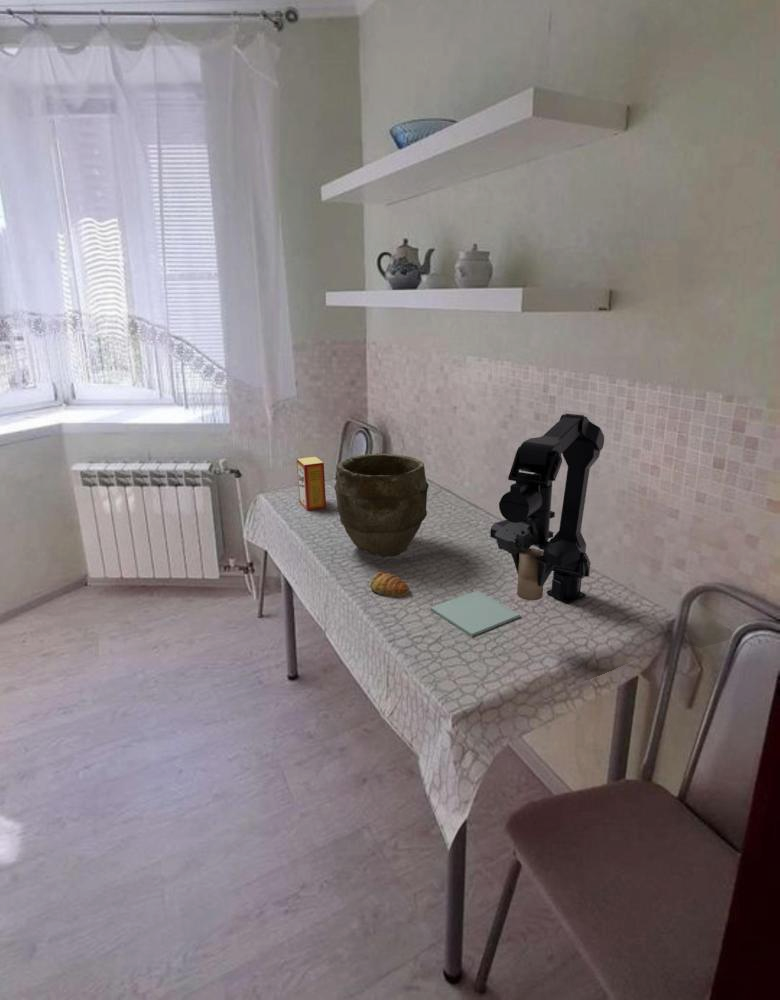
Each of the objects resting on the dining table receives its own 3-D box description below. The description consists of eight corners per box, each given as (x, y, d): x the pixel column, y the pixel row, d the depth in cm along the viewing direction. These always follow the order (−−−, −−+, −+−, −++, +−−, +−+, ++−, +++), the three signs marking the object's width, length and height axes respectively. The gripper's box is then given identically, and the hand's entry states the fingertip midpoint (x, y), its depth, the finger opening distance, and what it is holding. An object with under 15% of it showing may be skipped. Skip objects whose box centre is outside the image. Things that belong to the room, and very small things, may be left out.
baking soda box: (299, 502, 212) (296, 457, 207) (317, 499, 214) (315, 455, 209) (307, 510, 203) (304, 464, 198) (326, 508, 206) (323, 461, 201)
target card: (477, 592, 146) (477, 590, 146) (520, 616, 135) (520, 614, 135) (430, 609, 139) (430, 607, 138) (471, 636, 128) (471, 633, 127)
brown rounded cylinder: (529, 586, 127) (531, 546, 124) (547, 595, 123) (550, 554, 120) (511, 593, 124) (513, 552, 121) (530, 602, 120) (532, 560, 117)
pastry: (414, 590, 148) (414, 576, 147) (399, 602, 143) (399, 587, 142) (382, 581, 153) (382, 567, 152) (366, 592, 148) (366, 577, 147)
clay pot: (406, 526, 188) (405, 446, 180) (444, 556, 166) (445, 467, 158) (326, 539, 179) (322, 456, 171) (355, 573, 157) (351, 480, 149)
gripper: (470, 502, 121) (469, 574, 126) (542, 530, 106) (537, 611, 111) (512, 492, 127) (508, 561, 132) (585, 517, 112) (578, 594, 117)
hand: (530, 580), depth 123 cm, fingers closed on brown rounded cylinder, 5 cm apart
